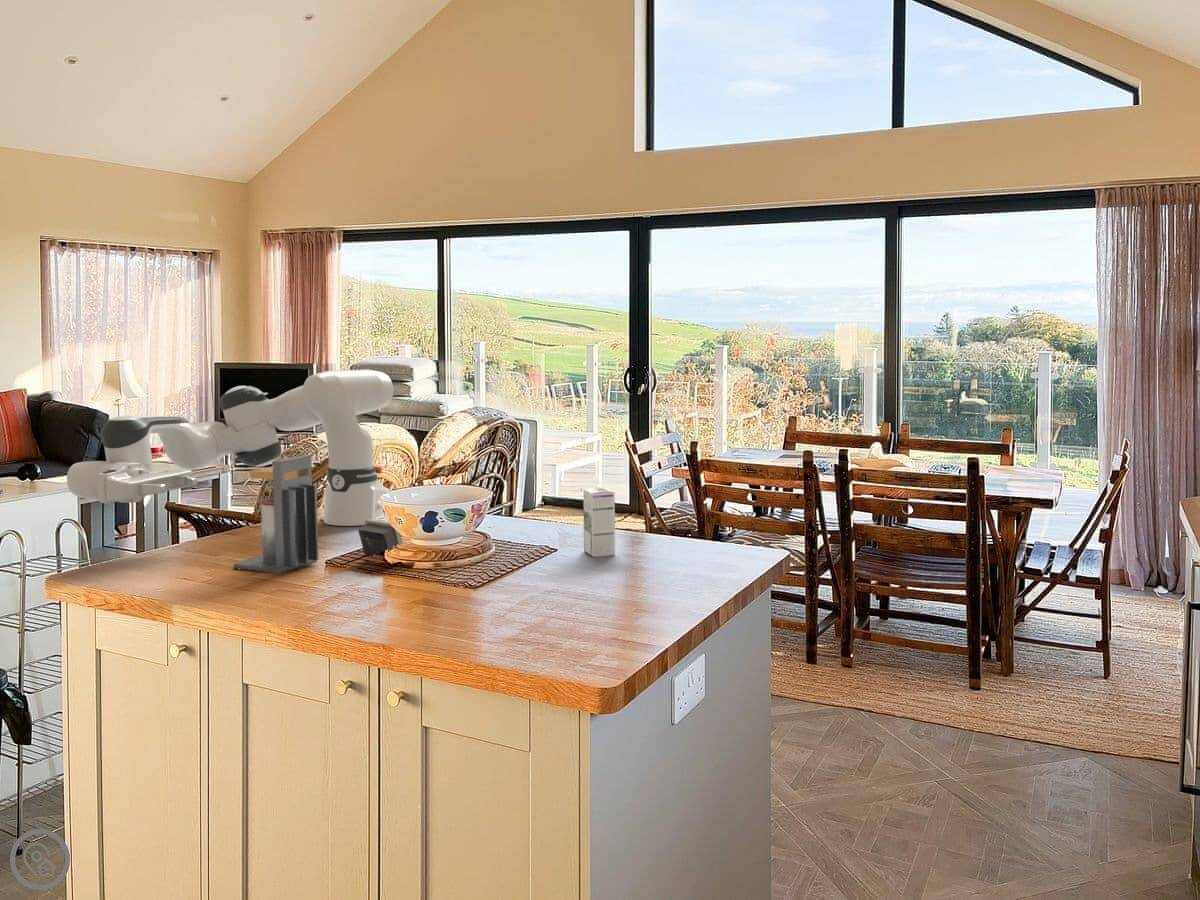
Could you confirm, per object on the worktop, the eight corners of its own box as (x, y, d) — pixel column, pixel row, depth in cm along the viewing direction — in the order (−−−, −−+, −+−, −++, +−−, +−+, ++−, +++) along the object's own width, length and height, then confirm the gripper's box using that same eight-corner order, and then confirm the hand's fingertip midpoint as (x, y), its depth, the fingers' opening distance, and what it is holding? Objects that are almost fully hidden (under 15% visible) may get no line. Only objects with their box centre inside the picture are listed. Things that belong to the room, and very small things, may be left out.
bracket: (270, 556, 222) (267, 452, 219) (324, 561, 217) (321, 455, 214) (233, 568, 211) (229, 459, 208) (289, 574, 206) (285, 462, 203)
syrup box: (615, 555, 224) (616, 491, 223) (590, 557, 222) (591, 492, 221) (607, 550, 230) (607, 487, 228) (582, 552, 228) (582, 488, 226)
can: (273, 556, 217) (271, 496, 216) (293, 558, 216) (291, 498, 214) (257, 561, 213) (255, 500, 211) (277, 563, 211) (275, 502, 209)
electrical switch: (407, 563, 217) (403, 521, 215) (390, 570, 212) (386, 527, 210) (376, 557, 222) (372, 516, 220) (358, 564, 217) (354, 522, 215)
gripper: (165, 489, 234) (213, 492, 230) (93, 504, 215) (144, 508, 211) (163, 462, 234) (212, 464, 229) (91, 475, 215) (142, 478, 210)
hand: (179, 485), depth 220 cm, fingers open, 8 cm apart
